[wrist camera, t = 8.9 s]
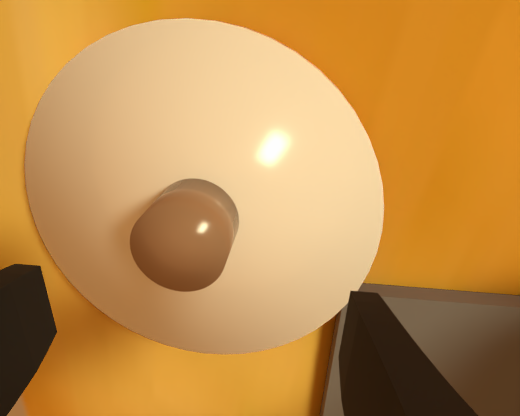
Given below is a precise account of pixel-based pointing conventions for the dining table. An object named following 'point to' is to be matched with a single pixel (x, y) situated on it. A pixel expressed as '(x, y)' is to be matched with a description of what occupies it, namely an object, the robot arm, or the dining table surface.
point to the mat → (451, 344)
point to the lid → (204, 186)
